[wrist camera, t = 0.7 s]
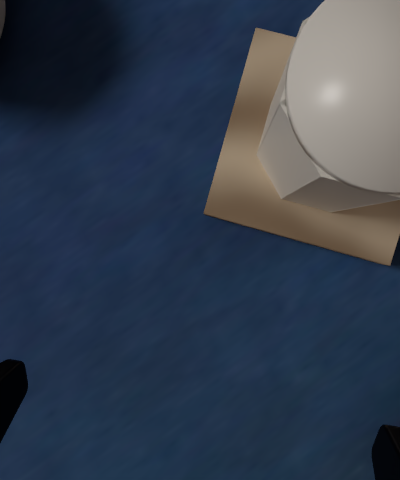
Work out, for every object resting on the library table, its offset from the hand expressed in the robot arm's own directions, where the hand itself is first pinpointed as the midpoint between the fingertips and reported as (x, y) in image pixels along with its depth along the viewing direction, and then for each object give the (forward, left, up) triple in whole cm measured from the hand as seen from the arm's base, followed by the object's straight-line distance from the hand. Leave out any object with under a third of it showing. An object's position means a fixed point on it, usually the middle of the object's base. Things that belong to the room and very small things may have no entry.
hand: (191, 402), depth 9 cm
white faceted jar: (+9, -7, -14) cm, 18 cm away
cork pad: (+9, -7, -15) cm, 19 cm away
